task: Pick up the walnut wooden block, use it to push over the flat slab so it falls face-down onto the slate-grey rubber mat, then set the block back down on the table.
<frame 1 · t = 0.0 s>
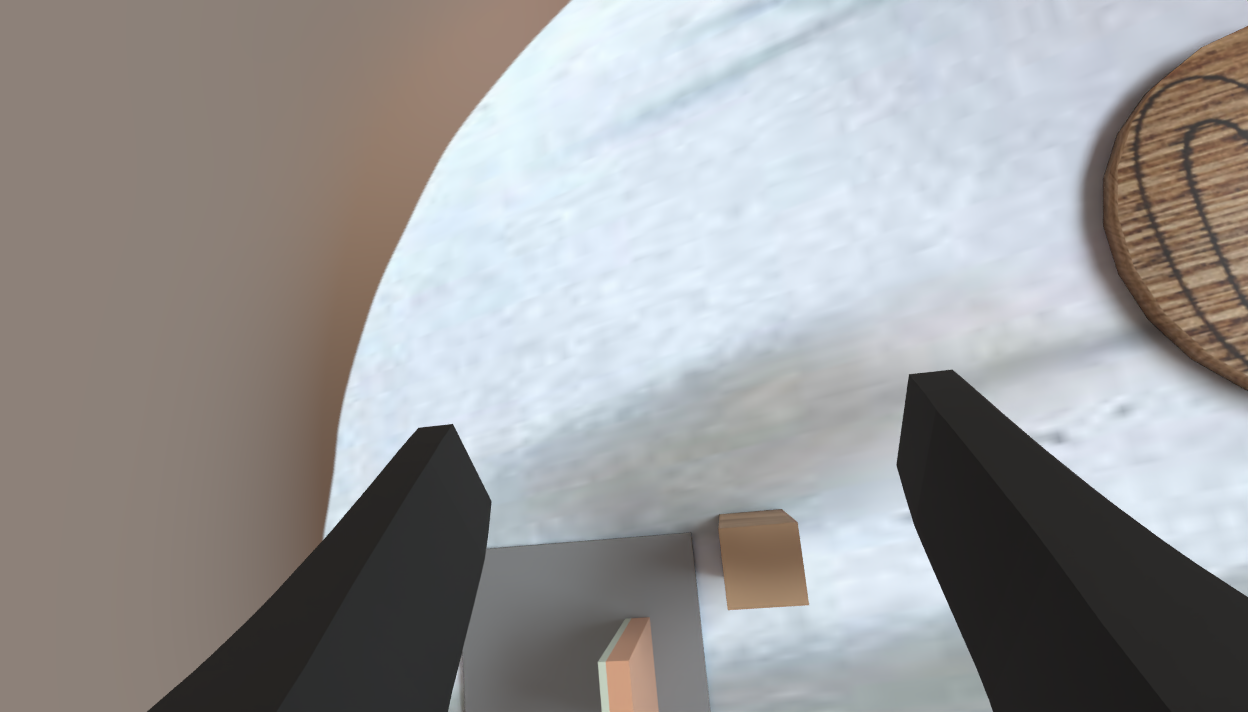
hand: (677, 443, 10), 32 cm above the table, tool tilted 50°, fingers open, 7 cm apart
rubber mat: (582, 668, 41), on the table
flat slab: (642, 667, 40), resting on rubber mat
wooden block: (754, 543, 40), on the table
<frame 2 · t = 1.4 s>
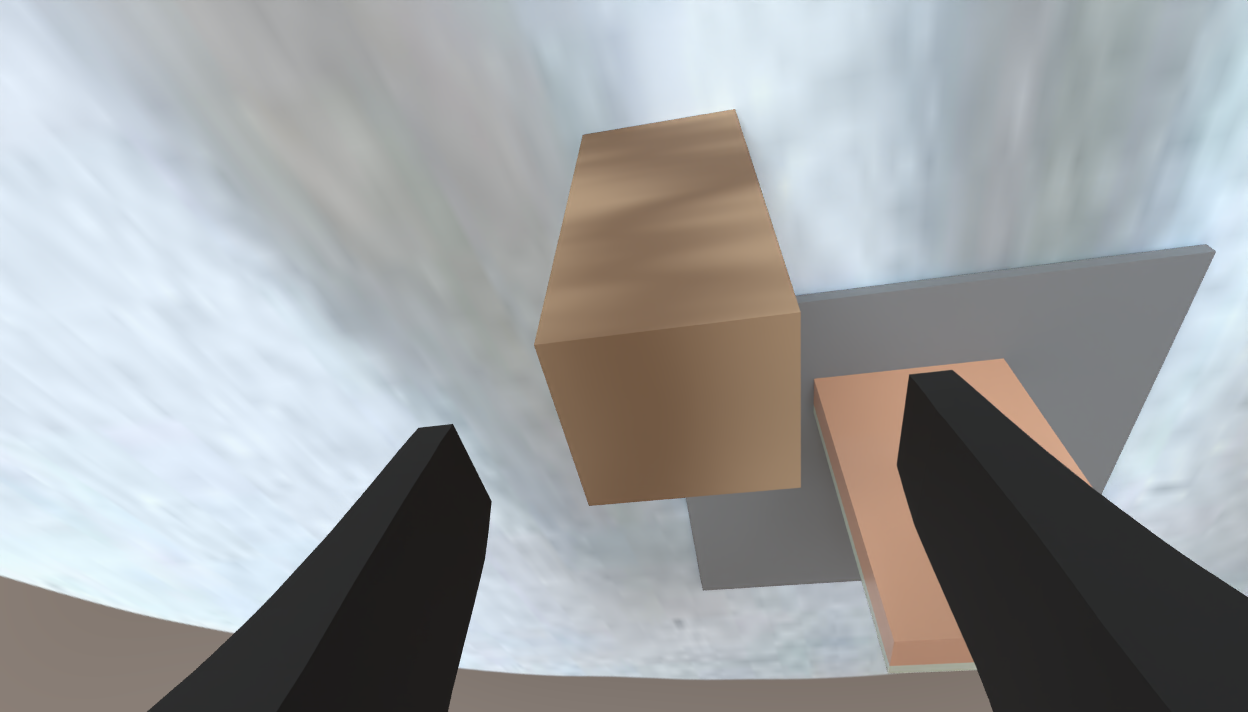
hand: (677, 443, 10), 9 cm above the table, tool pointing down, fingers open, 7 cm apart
rubber mat: (890, 456, 24), on the table
flat slab: (904, 386, 21), resting on rubber mat
wooden block: (667, 193, 17), on the table
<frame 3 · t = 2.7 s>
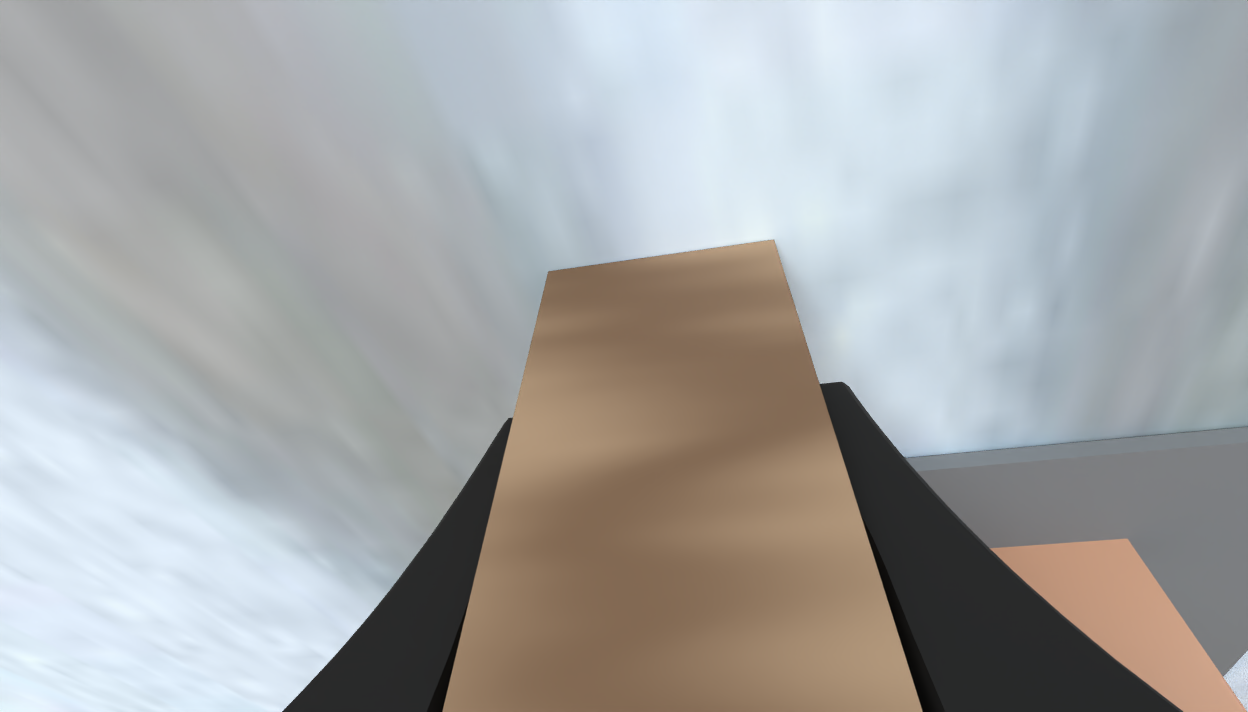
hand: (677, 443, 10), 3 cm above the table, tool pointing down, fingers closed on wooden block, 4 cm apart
rubber mat: (958, 628, 19), on the table
flat slab: (988, 566, 16), resting on rubber mat
wooden block: (673, 344, 12), on the table, touching gripper
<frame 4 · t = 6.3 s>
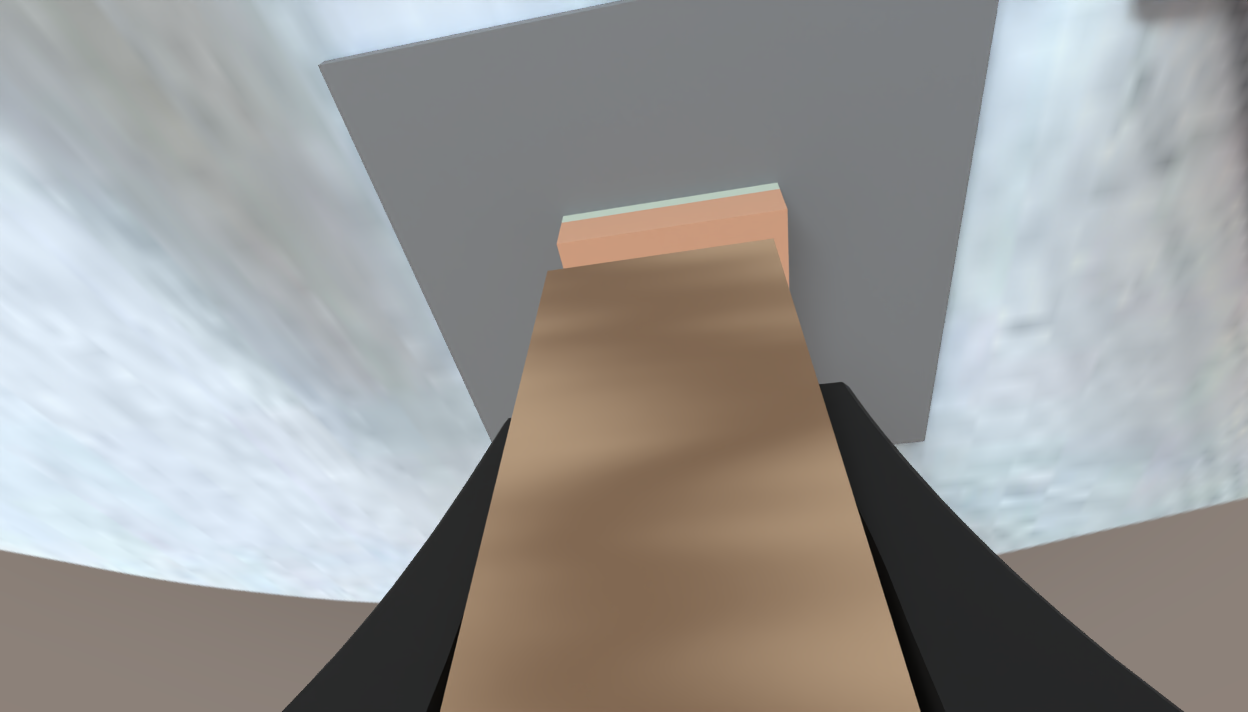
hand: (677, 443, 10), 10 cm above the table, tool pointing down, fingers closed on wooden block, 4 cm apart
rubber mat: (680, 283, 20), on the table
flat slab: (668, 212, 17), point 1 cm above the table, tilted 90°, touching rubber mat
wooden block: (672, 343, 12), point 7 cm above the table, touching gripper
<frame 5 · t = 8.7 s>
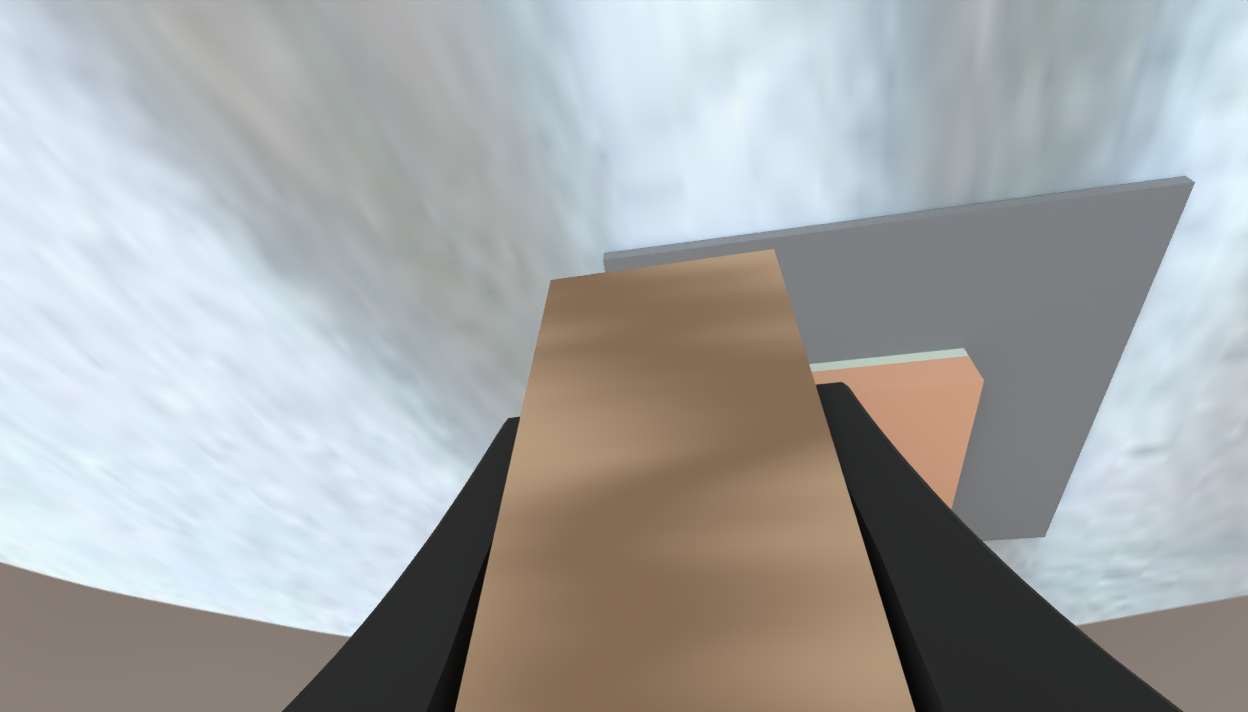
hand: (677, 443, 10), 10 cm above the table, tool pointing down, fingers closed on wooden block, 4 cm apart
rubber mat: (859, 414, 23), on the table
flat slab: (874, 373, 20), point 1 cm above the table, tilted 90°, touching rubber mat
wooden block: (674, 351, 12), point 7 cm above the table, touching gripper
when the fingers open (4 cm above the table, at t = 10.5 s): wooden block stays where it is, on the table.
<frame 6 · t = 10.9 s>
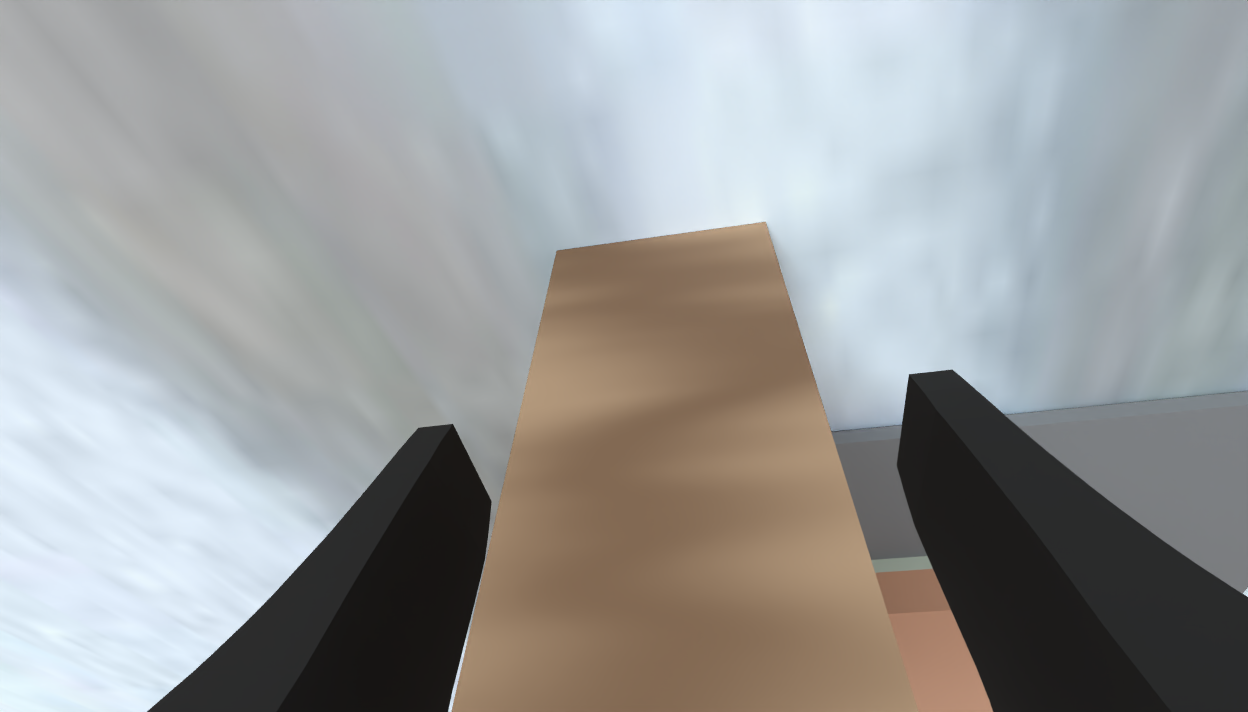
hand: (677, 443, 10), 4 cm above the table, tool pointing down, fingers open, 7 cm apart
rubber mat: (945, 597, 19), on the table
flat slab: (978, 579, 17), point 1 cm above the table, tilted 90°, touching rubber mat
wooden block: (671, 320, 13), on the table
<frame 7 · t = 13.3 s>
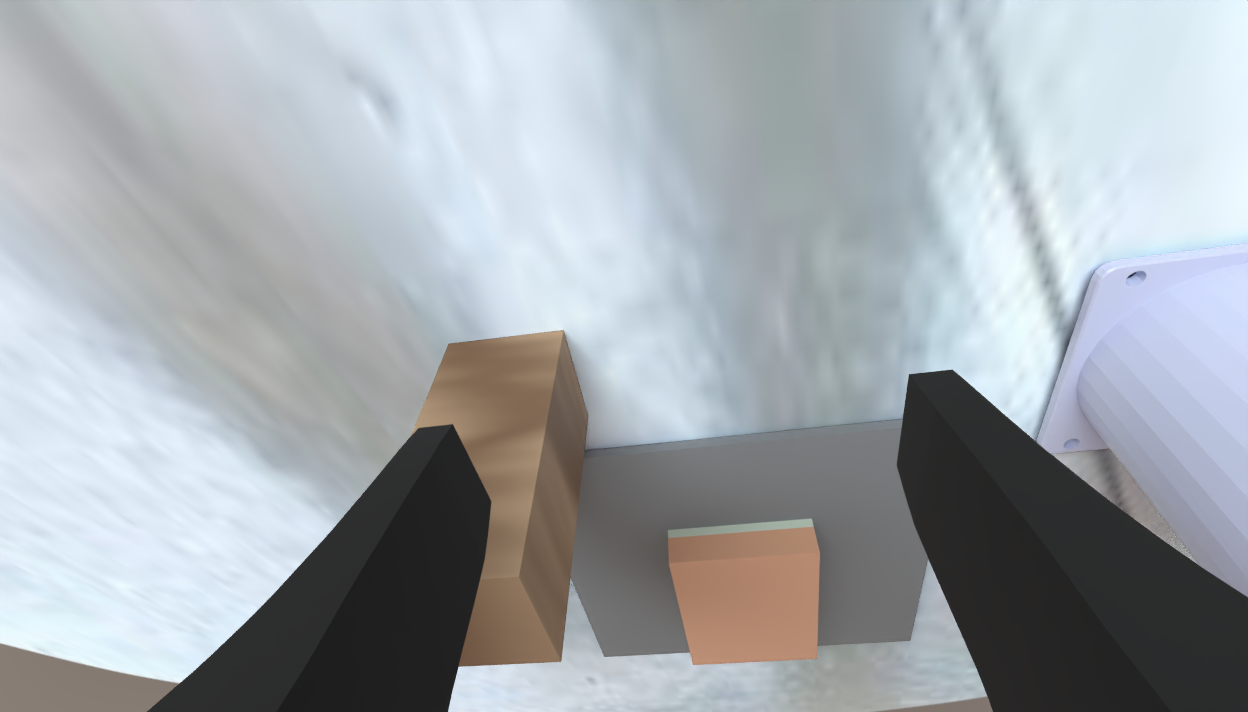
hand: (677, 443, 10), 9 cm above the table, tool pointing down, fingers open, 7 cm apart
rubber mat: (742, 556, 28), on the table
flat slab: (740, 540, 26), point 1 cm above the table, tilted 90°, touching rubber mat
wooden block: (521, 381, 22), on the table
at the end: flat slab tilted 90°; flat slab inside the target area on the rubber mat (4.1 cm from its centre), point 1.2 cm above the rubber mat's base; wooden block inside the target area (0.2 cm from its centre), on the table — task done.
